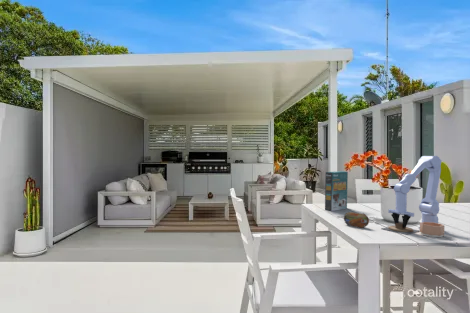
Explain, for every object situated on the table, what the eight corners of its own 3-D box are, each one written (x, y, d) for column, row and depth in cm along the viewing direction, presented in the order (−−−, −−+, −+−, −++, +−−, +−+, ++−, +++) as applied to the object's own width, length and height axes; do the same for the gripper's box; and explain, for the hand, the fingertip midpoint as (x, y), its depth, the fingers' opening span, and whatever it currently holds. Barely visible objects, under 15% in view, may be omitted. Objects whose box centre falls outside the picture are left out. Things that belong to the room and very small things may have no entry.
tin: (343, 224, 204) (343, 211, 204) (345, 223, 206) (346, 210, 206) (367, 228, 193) (367, 214, 193) (369, 228, 196) (369, 214, 196)
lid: (396, 226, 200) (396, 220, 200) (417, 230, 189) (417, 224, 189) (383, 228, 193) (383, 222, 193) (405, 233, 182) (405, 226, 182)
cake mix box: (340, 207, 271) (341, 171, 271) (346, 208, 267) (347, 171, 266) (324, 209, 257) (325, 172, 257) (331, 210, 253) (332, 172, 252)
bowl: (426, 231, 189) (426, 221, 189) (447, 235, 180) (447, 224, 180) (416, 233, 183) (416, 223, 183) (437, 238, 174) (437, 227, 174)
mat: (395, 226, 201) (395, 225, 201) (420, 231, 189) (420, 230, 189) (381, 229, 193) (381, 228, 193) (406, 234, 180) (406, 233, 180)
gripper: (385, 202, 195) (385, 225, 195) (409, 206, 182) (409, 230, 183) (392, 201, 198) (391, 223, 199) (416, 205, 186) (415, 228, 186)
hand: (400, 226), depth 191 cm, fingers closed on lid, 4 cm apart
